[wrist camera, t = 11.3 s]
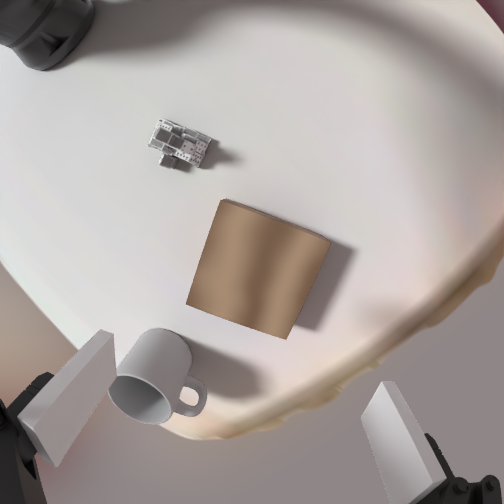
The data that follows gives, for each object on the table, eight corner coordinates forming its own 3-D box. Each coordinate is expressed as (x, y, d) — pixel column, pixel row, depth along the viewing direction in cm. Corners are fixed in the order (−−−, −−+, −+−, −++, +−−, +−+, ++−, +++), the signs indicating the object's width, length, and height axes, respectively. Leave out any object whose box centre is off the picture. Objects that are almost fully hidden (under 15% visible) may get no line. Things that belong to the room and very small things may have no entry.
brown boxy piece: (195, 288, 35) (185, 304, 30) (226, 198, 32) (220, 200, 27) (283, 320, 35) (286, 339, 30) (321, 234, 32) (331, 242, 28)
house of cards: (124, 176, 32) (91, 175, 24) (153, 114, 30) (126, 97, 22) (182, 205, 32) (160, 210, 25) (215, 140, 30) (201, 126, 23)
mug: (132, 358, 37) (102, 402, 27) (147, 317, 35) (111, 360, 25) (202, 392, 38) (187, 444, 27) (224, 356, 36) (212, 410, 26)
